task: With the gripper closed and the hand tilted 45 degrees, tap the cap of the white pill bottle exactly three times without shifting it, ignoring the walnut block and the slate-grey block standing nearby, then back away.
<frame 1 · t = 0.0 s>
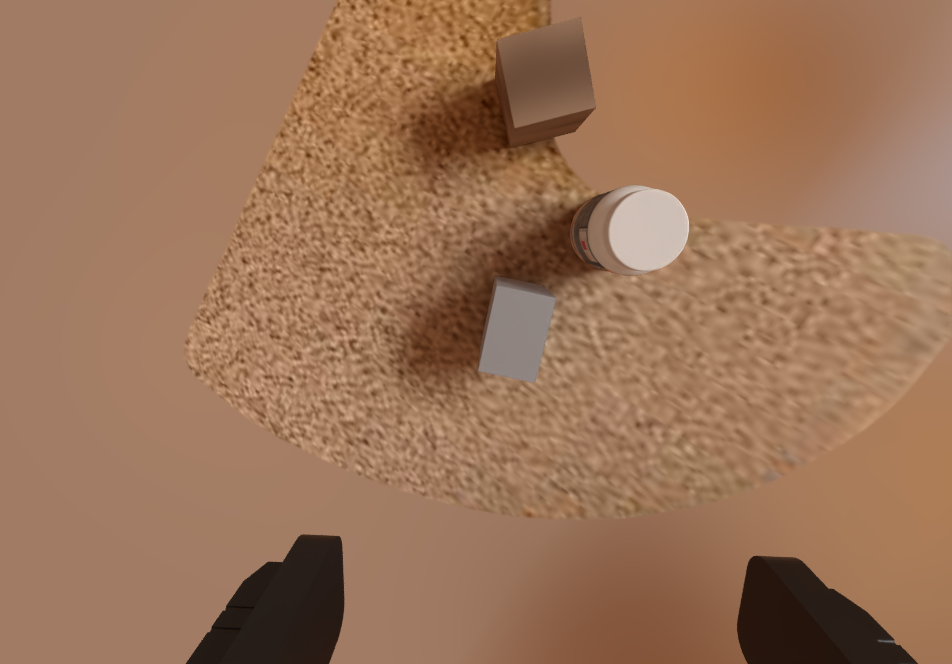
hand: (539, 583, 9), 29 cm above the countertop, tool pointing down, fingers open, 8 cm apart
pill bottle: (604, 231, 36), on the countertop
walnut block: (535, 105, 34), on the countertop
slate block: (511, 316, 38), on the countertop
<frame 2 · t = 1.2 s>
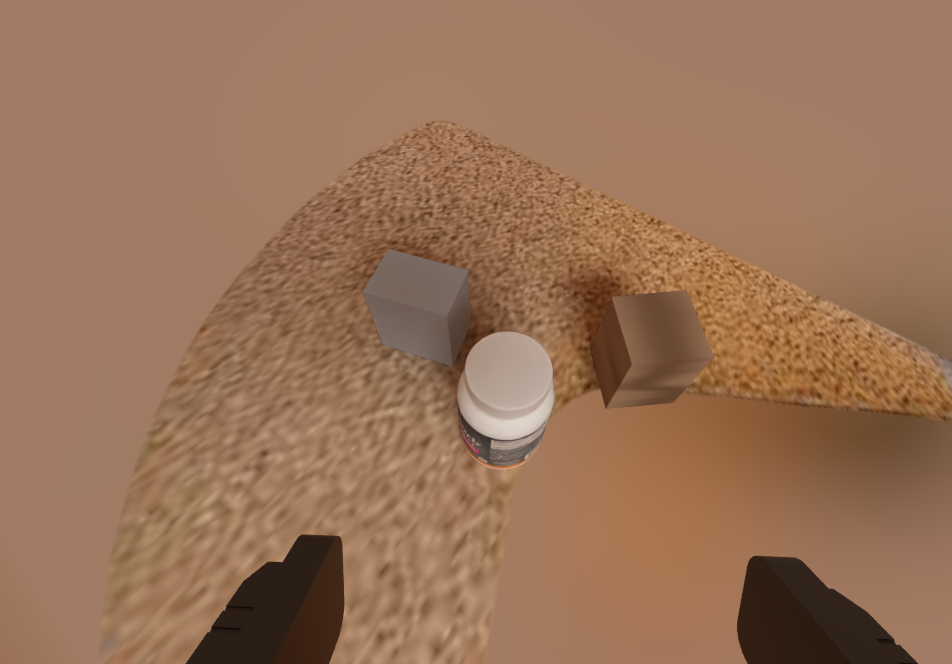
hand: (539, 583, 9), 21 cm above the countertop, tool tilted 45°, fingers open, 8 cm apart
pill bottle: (501, 432, 33), on the countertop
walnut block: (630, 375, 35), on the countertop
slate block: (426, 334, 37), on the countertop
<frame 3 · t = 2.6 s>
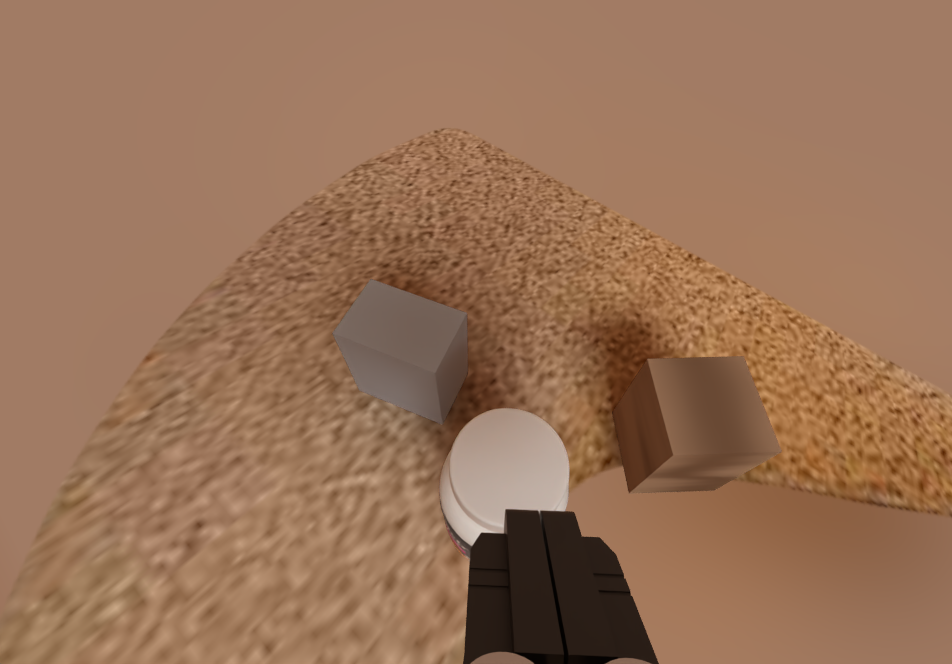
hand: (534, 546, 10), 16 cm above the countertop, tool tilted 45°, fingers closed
pill bottle: (496, 516, 26), on the countertop
walnut block: (660, 449, 28), on the countertop
slate block: (414, 381, 31), on the countertop
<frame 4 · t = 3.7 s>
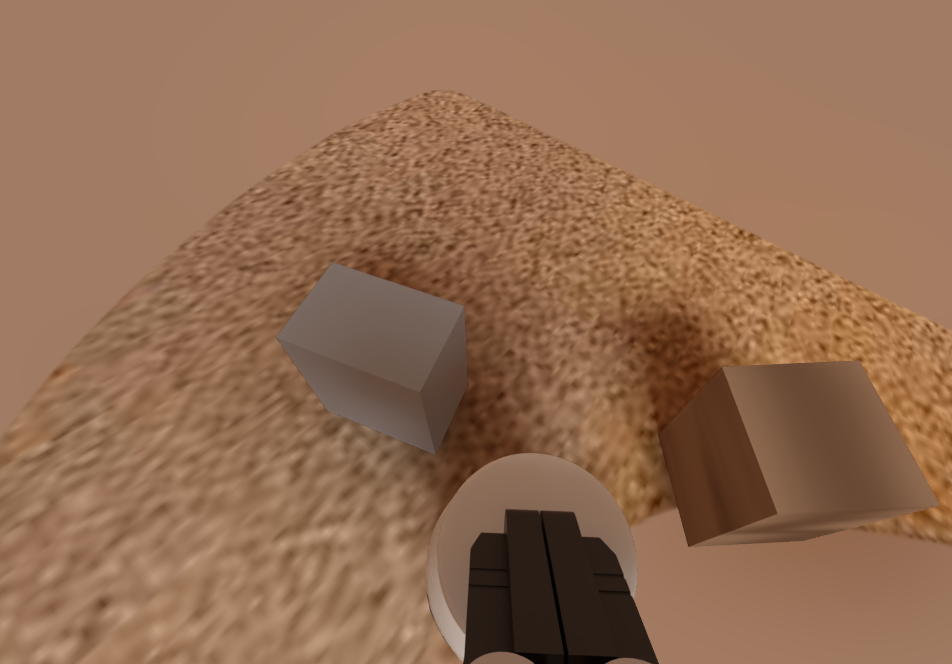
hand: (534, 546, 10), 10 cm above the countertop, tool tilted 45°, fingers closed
pill bottle: (509, 582, 19), on the countertop, touching gripper
walnut block: (726, 484, 21), on the countertop
slate block: (398, 397, 24), on the countertop
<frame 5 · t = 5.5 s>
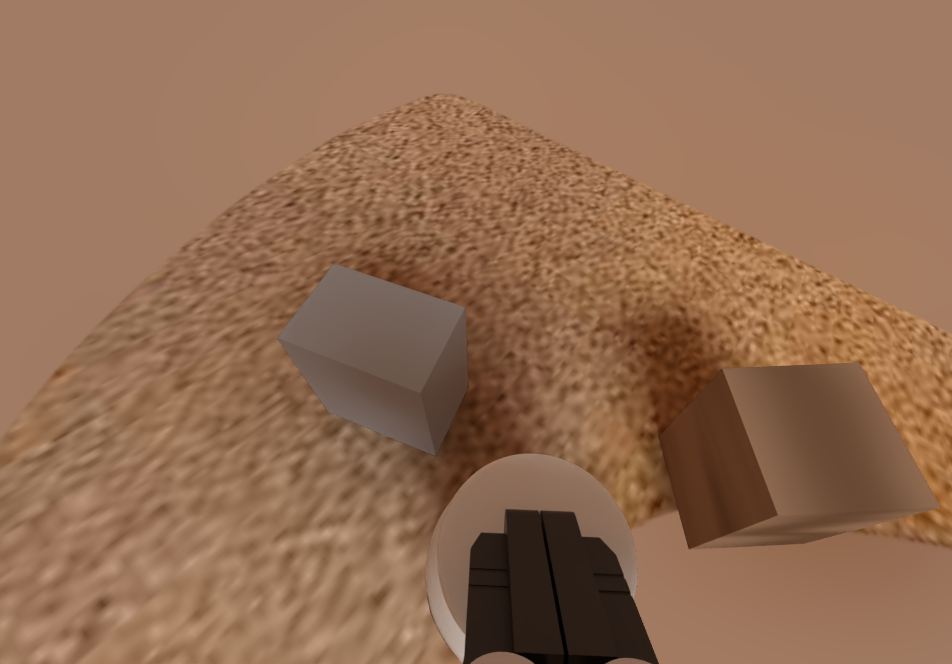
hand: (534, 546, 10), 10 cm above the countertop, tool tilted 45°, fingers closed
pill bottle: (509, 584, 19), on the countertop, touching gripper
walnut block: (726, 487, 21), on the countertop
slate block: (399, 399, 24), on the countertop
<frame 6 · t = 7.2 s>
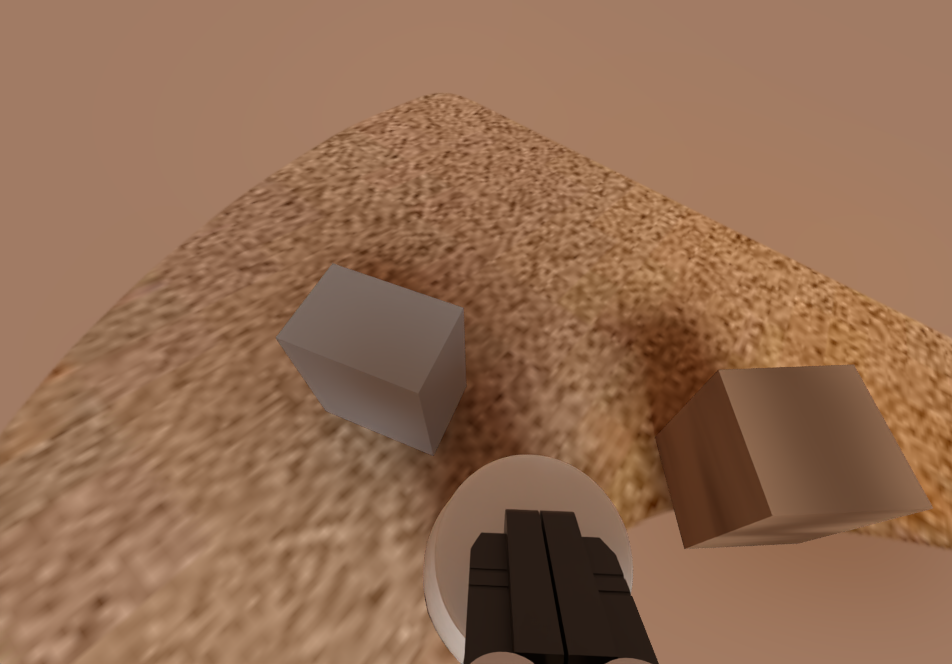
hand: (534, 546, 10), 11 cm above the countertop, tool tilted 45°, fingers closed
pill bottle: (506, 583, 19), on the countertop
walnut block: (722, 487, 21), on the countertop
slate block: (397, 398, 24), on the countertop
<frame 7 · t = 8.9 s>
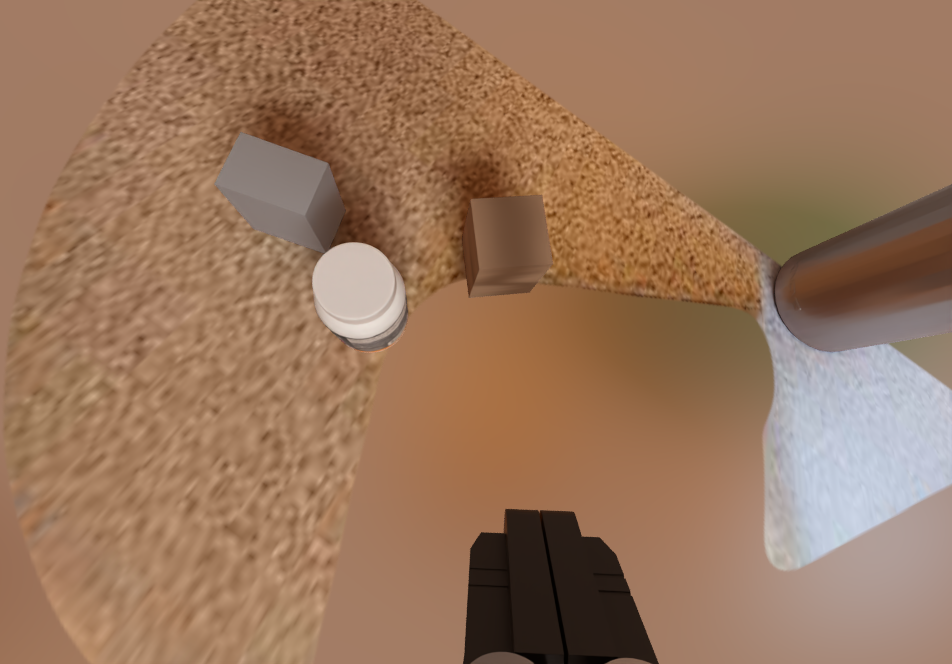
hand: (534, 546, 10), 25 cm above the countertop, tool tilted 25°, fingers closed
pill bottle: (372, 318, 36), on the countertop
walnut block: (495, 265, 38), on the countertop
slate block: (300, 219, 37), on the countertop
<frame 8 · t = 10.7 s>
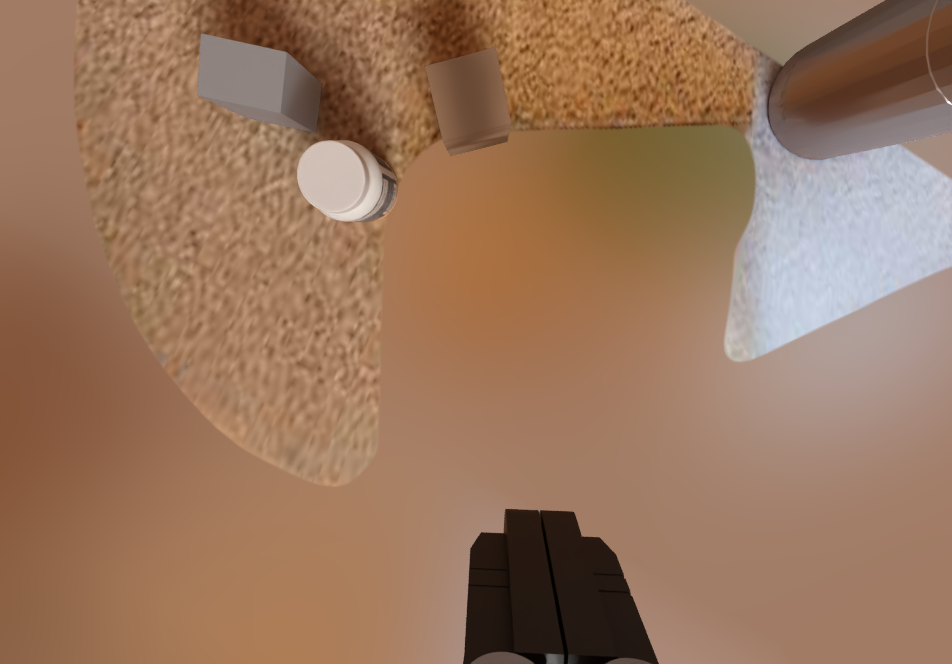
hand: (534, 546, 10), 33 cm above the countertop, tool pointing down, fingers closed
pill bottle: (368, 189, 41), on the countertop
walnut block: (472, 118, 39), on the countertop
slate block: (284, 101, 39), on the countertop
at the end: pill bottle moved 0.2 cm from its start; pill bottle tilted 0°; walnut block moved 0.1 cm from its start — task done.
